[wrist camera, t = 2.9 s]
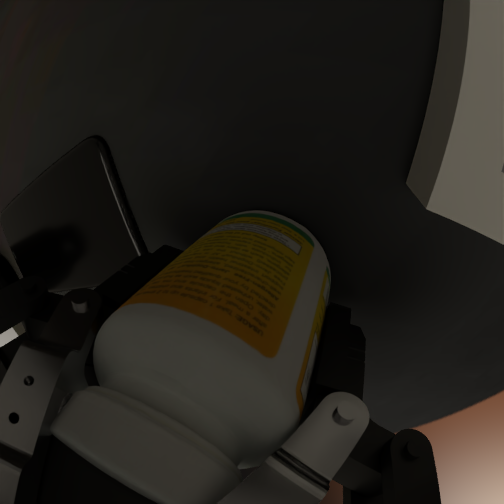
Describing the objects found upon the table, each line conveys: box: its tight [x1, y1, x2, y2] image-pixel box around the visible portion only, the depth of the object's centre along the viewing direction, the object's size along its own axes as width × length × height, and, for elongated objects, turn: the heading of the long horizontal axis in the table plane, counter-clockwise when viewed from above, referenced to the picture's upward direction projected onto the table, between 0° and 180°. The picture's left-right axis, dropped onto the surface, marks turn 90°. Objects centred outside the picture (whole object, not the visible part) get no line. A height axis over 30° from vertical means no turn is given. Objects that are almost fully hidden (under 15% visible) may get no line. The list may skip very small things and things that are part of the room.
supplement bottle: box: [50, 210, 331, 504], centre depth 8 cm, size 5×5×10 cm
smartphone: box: [0, 136, 148, 293], centre depth 16 cm, size 8×1×16 cm
